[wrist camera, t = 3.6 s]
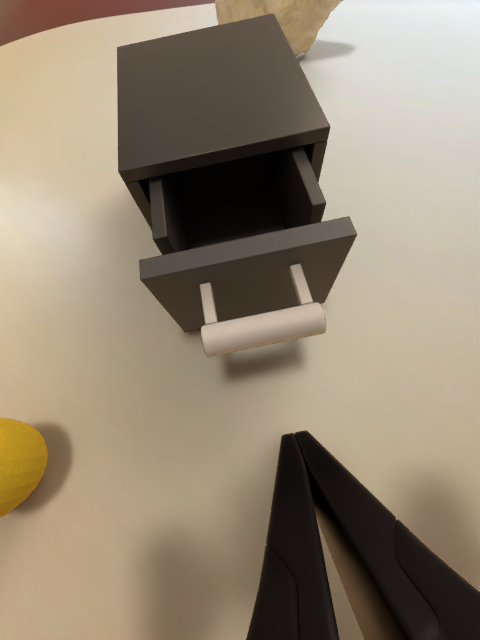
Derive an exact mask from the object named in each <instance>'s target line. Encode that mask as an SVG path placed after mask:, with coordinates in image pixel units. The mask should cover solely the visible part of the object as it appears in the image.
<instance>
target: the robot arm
mask: <svg viewBox="0 0 480 640" xmlns="http://www.w3.org/2000/svg"><path fill="white" fill-rule="evenodd" d="M316 518H317V519H316ZM317 520H318V523H319V525H320V528H321V530H322V533H323V535H324V538H325V541H326V543H327V546H328V548H329V551H330V553H331V556H332V558H333V561H334V563H335V566H336V568H337V571H338V574H339V576H340V579H341V581H342V584H343V586H344V589H345V591H346V594H347V596H348V599H349V601H350V604H351V606H352V609H353V612H354V614H355V617H356V619H357V622H358V624H359V627H360V629H361V632H362V634H363V637H364V639H365V640H480V592H479V591H478V590H477V589H475V588H474V587H473V586H472V585H471V584H469V583H468V582H467V581H466V580H465V579H463V578H462V577H461V576H460V575H459V574H457V573H456V572H455V571H454V570H453V569H452V568H450V567H449V566H448V565H447V564H446V563H445V562H443V561H442V560H441V559H440V558H439V557H438V556H437V555H435V554H434V553H433V552H432V551H431V550H430V549H429V548H428V547H427V546H426V545H424V544H423V543H422V542H421V541H420V540H419V539H418V538H417V537H416V536H415V535H414V534H413V533H412V532H411V531H410V530H409V529H408V528H407V527H406V526H404V525H403V524H402V523H401V522H400V521H399V520H398V519H397V520H396V517H395V516H394V515H393V514H392V513H391V512H390V511H389V510H388V509H387V508H386V507H385V506H384V505H383V504H382V503H381V502H380V501H379V500H378V499H377V498H376V497H375V496H374V495H373V494H372V493H370V492H369V491H368V490H367V489H366V488H365V487H364V486H363V485H362V484H361V483H360V482H359V481H358V480H357V479H356V478H355V477H354V476H353V475H352V474H351V473H350V472H349V471H348V470H347V469H346V468H345V467H344V466H343V465H342V464H341V463H340V462H339V461H338V460H337V459H336V458H335V457H334V456H333V455H332V454H331V453H329V452H328V451H327V450H326V449H325V448H324V447H323V446H322V445H321V444H320V443H319V442H318V441H317V440H316V439H315V438H314V437H313V436H312V435H311V434H310V433H309V432H308V431H306V430H305V431H300V432H296V433H295V434H294V433H290V434H285V435H282V438H281V444H280V451H279V458H278V465H277V472H276V479H275V486H274V493H273V500H272V507H271V513H270V520H269V527H268V534H267V541H266V544H267V545H266V547H265V553H264V560H263V566H262V572H261V578H260V583H259V589H258V593H257V598H256V602H255V606H254V611H253V615H252V619H251V623H250V627H249V631H248V635H247V639H246V640H339V635H338V629H337V624H336V619H335V613H334V608H333V603H332V598H331V592H330V587H329V582H328V577H327V571H326V566H325V561H324V555H323V550H322V545H321V540H320V534H319V529H318V524H317Z"/></svg>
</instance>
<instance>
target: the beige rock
mask: <svg viewBox="0 0 480 640" xmlns="http://www.w3.org/2000/svg"><path fill="white" fill-rule="evenodd" d="M342 1H343V0H215V2H216V12H217V20H218V24H219V25H222V24H226V23H231V22H236V21H240V20H245V19H250V18H254V17H259V16H263V15H268V14H273V13H274V15H275V17H276V19H277V21H278V23H279V25H280V27H281V29H282V31H283V33H284V35H285V37H286V39H287V41H288V43H289V45H290V47H291V49H292V51H293V53H294V55H295V56H297V55H298V54H300V53H302V52H304V53H307V52H308V51H309V49H310V46H311V45H312V44H313V42H314V41H315V39H316V36H317V32H318V30H319V29H320V28H321V27H322V26H323V24H324V22H325V21H326V20H327V18H328V16H329V14H330V12H331V11H332V10H334V9H335V8H336V7H337V5H338V4H339V3H340V2H342Z"/></svg>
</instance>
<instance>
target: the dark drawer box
mask: <svg viewBox="0 0 480 640" xmlns="http://www.w3.org/2000/svg"><path fill="white" fill-rule="evenodd" d="M117 85H118V172H119V174H120V175H121V177H122V179H123V181H124V182H125V184H126V186H127V188H128V190H129V191H130V193H131V195H132V197H133V198H134V200H135V202H136V204H137V205H138V207H139V209H140V210H141V212H142V214H143V216H144V217H145V219H146V221H147V223H148V224H149V226H150V228H151V230H152V219H151V205H150V191H149V178H151V177H156V176H161V175H165V174H170V173H175V172H179V171H184V170H189V169H194V168H198V167H203V166H208V165H213V164H217V163H222V162H227V161H231V160H236V159H241V158H246V157H250V156H255V155H260V154H265V153H269V152H274V151H279V150H283V149H288V148H293V147H298V146H303V148H304V151H305V153H306V155H307V158H308V160H309V163H310V165H311V167H312V170H313V172H314V175H315V177H316V179H317V182H318V181H319V177H320V172H321V168H322V163H323V159H324V154H325V150H326V145H327V139H328V135H329V131H330V125H329V123H328V121H327V119H326V117H325V115H324V113H323V111H322V109H321V107H320V105H319V103H318V101H317V99H316V97H315V95H314V93H313V91H312V89H311V87H310V85H309V83H308V81H307V79H306V77H305V75H304V73H303V71H302V69H301V67H300V65H299V63H298V61H297V59H296V57H295V55H294V53H293V51H292V49H291V47H290V45H289V43H288V41H287V39H286V37H285V35H284V33H283V31H282V29H281V27H280V25H279V23H278V21H277V19H276V17H275V15H274V13H273V14H268V15H263V16H259V17H254V18H250V19H245V20H240V21H236V22H231V23H226V24H222V25H217V26H213V27H208V28H203V29H199V30H194V31H190V32H185V33H180V34H176V35H171V36H167V37H162V38H157V39H153V40H148V41H143V42H139V43H134V44H130V45H125V46H120V47H117Z"/></svg>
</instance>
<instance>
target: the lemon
mask: <svg viewBox="0 0 480 640" xmlns="http://www.w3.org/2000/svg"><path fill="white" fill-rule="evenodd" d="M47 460H48V450H47V446H46V443H45V440H44V438H43V437H42V436H41V434H40V433H39V432H38V431H37V430H36V429H34V428H33V427H31V426H30V425H28V424H26V423H24V422H20V421H16V420H12V419H7V418H0V518H1V517H2V516H4V515H6V514H8V513H9V512H10V511H12V510H13V509H14V508H16V507H17V506H18V505H20V504H21V503H22V502H23V501H24V500H26V499H27V498H28V496H29V495H30V494H31V493H32V492H33V490H34V489H35V488H36V487H37V485H38V484H39V482H40V480H41V479H42V477H43V475H44V472H45V469H46V466H47Z"/></svg>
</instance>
